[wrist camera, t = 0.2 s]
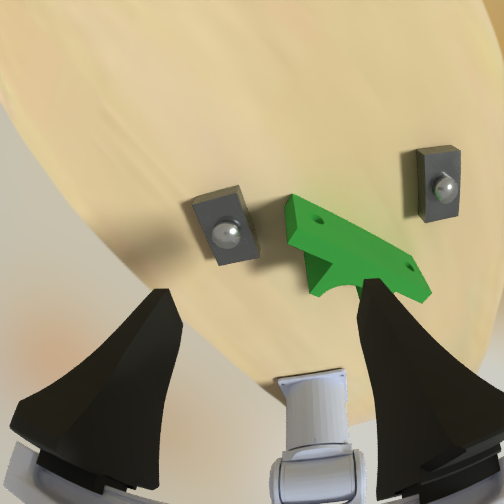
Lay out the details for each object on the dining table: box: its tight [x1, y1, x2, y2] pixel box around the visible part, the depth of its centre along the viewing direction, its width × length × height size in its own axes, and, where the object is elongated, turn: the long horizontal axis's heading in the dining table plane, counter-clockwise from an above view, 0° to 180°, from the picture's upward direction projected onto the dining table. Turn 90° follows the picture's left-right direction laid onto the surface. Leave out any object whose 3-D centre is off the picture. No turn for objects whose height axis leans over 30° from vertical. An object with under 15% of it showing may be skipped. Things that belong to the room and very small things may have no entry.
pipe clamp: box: [285, 194, 432, 303], centre depth 19 cm, size 11×4×5 cm, turn 66°
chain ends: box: [192, 145, 461, 266], centre depth 17 cm, size 5×18×2 cm, turn 107°
